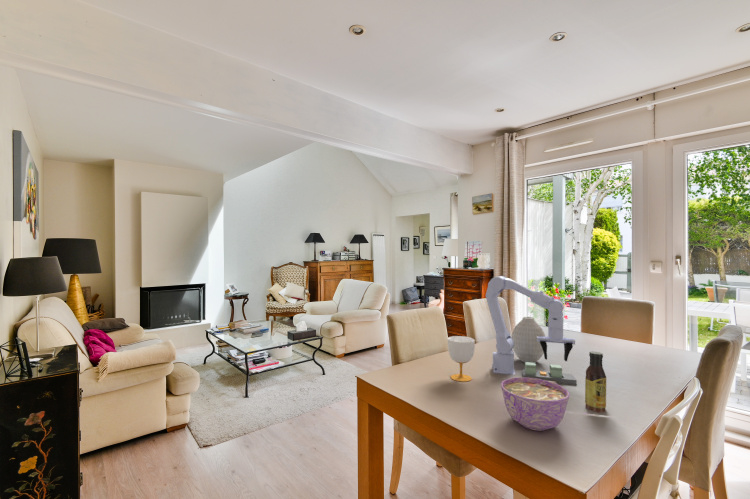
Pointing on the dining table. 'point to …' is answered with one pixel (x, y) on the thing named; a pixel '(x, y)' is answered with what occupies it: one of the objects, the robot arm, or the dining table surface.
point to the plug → (555, 371)
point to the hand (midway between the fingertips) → (555, 359)
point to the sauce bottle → (595, 384)
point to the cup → (461, 354)
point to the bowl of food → (535, 402)
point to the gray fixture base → (546, 375)
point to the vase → (527, 340)
